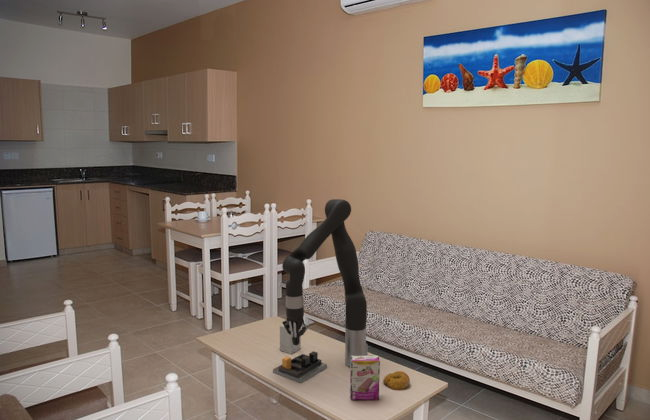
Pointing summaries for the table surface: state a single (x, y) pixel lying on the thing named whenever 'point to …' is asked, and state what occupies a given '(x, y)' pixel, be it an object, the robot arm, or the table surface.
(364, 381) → the candy bar box
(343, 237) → the robot arm
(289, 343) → the supplement box
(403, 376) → the bagel
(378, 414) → the table surface
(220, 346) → the table surface
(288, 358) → the block
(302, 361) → the panel
